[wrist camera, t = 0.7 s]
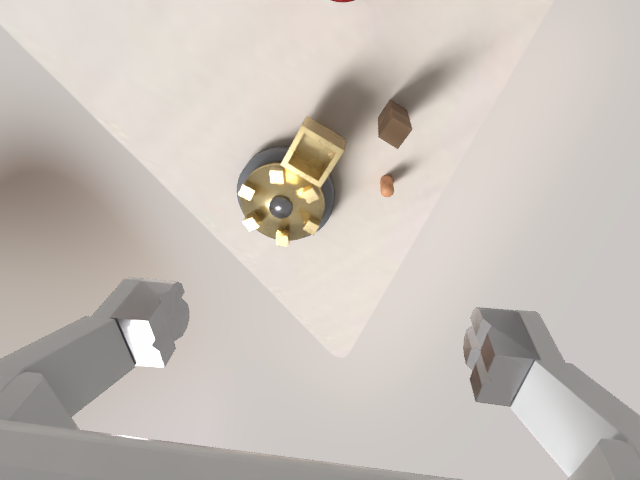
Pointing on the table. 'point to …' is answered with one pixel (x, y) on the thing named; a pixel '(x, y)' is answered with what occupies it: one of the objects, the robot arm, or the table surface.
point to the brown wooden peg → (394, 124)
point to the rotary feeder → (292, 186)
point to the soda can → (342, 0)
